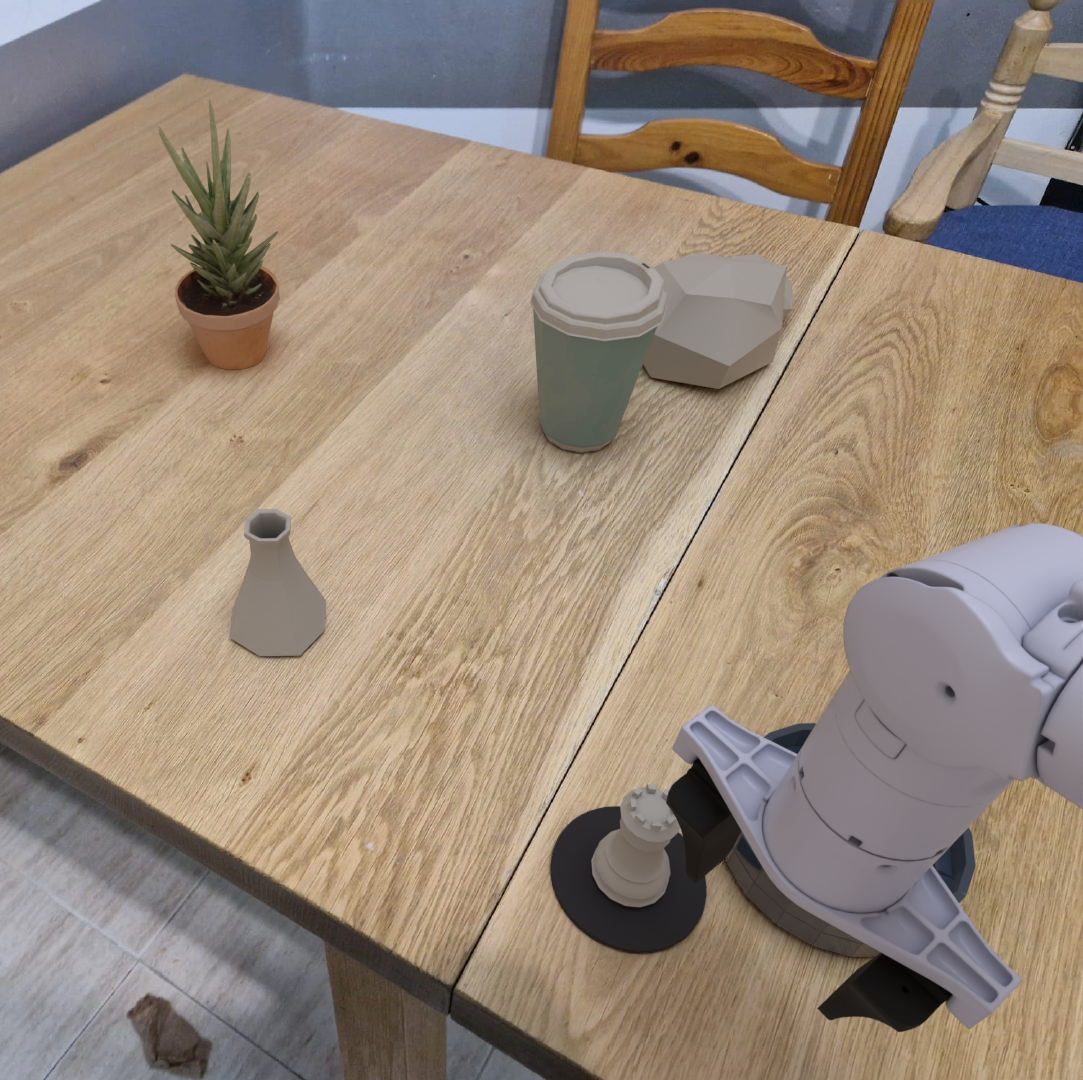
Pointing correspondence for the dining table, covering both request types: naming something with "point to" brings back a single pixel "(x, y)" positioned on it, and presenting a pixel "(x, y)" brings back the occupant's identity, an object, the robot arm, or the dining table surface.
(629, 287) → the disposable coffee cup
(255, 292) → the potted plant
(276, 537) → the flask
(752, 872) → the bowl
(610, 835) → the rook chess piece
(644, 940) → the coaster
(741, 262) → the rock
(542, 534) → the dining table surface
